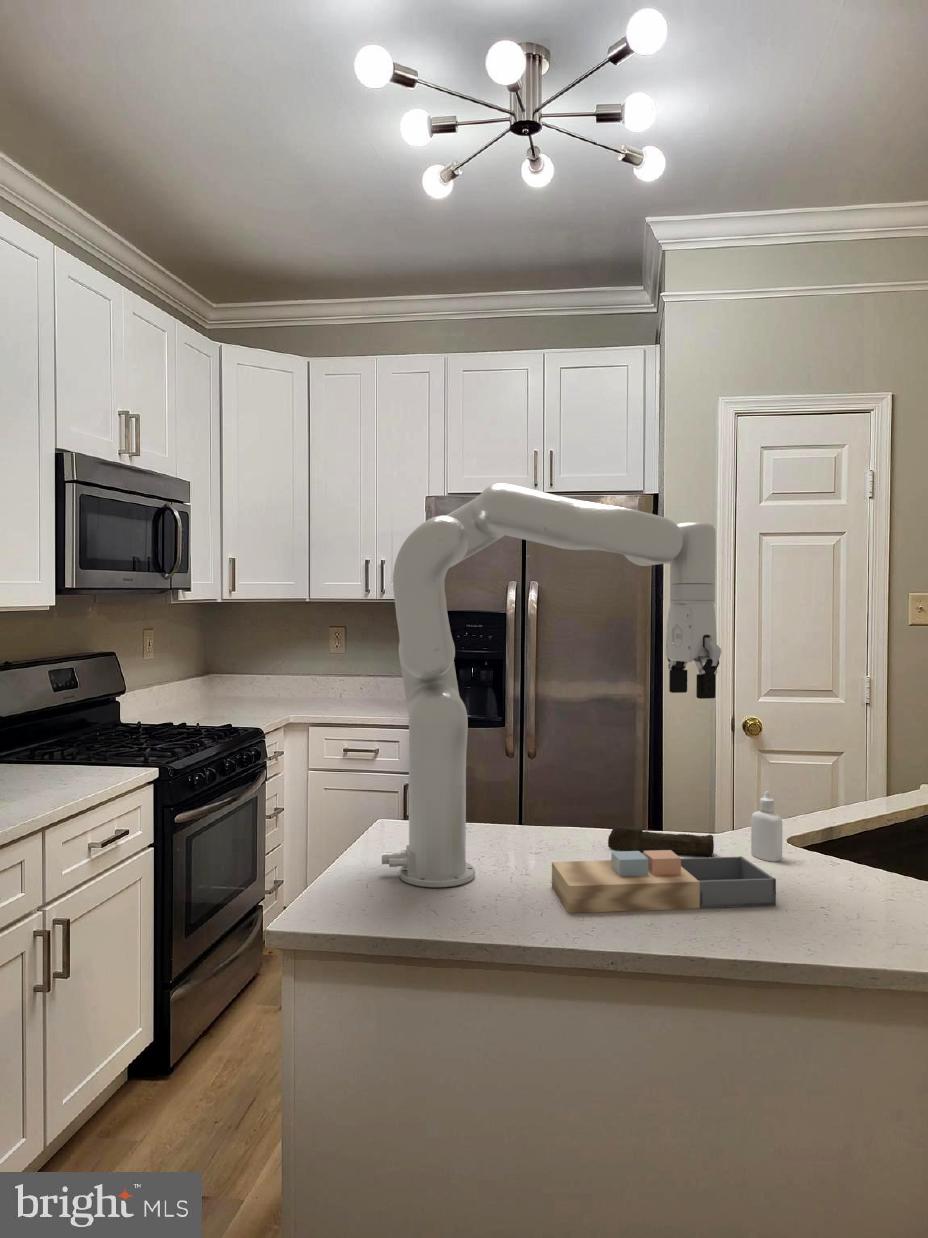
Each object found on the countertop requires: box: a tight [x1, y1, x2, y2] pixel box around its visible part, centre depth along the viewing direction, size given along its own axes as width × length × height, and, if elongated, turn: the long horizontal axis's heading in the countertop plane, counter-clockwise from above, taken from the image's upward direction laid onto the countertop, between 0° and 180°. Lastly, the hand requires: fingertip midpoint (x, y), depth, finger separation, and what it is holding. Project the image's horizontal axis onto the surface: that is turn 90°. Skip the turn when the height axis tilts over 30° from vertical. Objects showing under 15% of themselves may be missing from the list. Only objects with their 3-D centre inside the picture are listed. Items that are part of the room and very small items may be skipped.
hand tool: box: [607, 825, 715, 857], centre depth 160 cm, size 19×4×5 cm, turn 73°
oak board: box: [551, 859, 701, 914], centre depth 135 cm, size 20×12×4 cm, turn 96°
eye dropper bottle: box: [750, 791, 783, 863], centre depth 156 cm, size 4×6×12 cm
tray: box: [680, 856, 777, 909], centre depth 136 cm, size 12×12×4 cm
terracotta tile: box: [642, 850, 681, 875], centre depth 135 cm, size 4×4×2 cm
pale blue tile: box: [610, 850, 648, 876], centre depth 135 cm, size 4×4×2 cm
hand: (691, 695), depth 148 cm, fingers open, 9 cm apart
